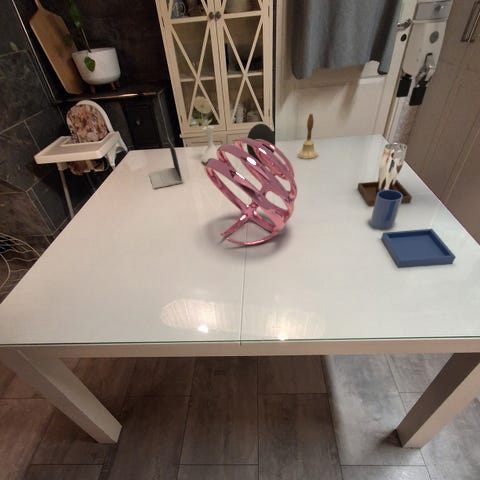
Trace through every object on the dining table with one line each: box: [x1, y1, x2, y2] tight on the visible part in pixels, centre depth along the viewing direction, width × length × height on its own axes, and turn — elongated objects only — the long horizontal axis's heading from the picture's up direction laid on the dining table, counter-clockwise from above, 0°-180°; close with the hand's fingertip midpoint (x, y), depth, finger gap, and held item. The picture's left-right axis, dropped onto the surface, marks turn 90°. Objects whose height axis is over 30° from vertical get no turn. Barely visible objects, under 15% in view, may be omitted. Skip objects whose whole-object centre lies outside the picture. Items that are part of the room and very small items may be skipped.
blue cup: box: [369, 190, 403, 230], centre depth 89 cm, size 7×7×9 cm
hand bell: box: [297, 113, 318, 160], centre depth 129 cm, size 8×8×16 cm
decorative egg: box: [246, 123, 276, 164], centre depth 129 cm, size 12×12×15 cm
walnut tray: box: [357, 179, 413, 207], centre depth 103 cm, size 14×14×2 cm
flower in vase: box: [192, 95, 218, 164], centre depth 132 cm, size 13×11×25 cm
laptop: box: [148, 137, 183, 189], centre depth 127 cm, size 18×12×13 cm
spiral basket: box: [203, 137, 298, 246], centre depth 85 cm, size 28×28×27 cm
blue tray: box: [381, 228, 456, 268], centre depth 81 cm, size 14×14×2 cm
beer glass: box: [374, 142, 408, 196], centre depth 98 cm, size 7×7×15 cm
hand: (407, 100), depth 82 cm, fingers open, 9 cm apart
